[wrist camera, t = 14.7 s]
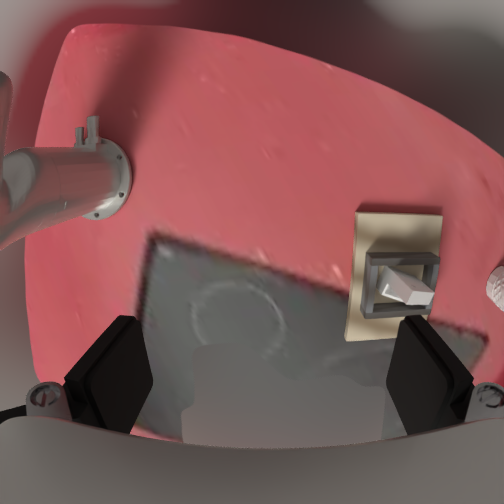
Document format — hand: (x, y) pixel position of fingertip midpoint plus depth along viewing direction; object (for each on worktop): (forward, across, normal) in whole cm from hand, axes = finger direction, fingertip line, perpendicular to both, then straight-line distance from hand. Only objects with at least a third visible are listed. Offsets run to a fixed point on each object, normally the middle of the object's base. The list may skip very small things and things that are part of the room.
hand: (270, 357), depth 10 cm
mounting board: (+33, -19, +10) cm, 40 cm away
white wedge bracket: (+32, -19, +10) cm, 38 cm away
